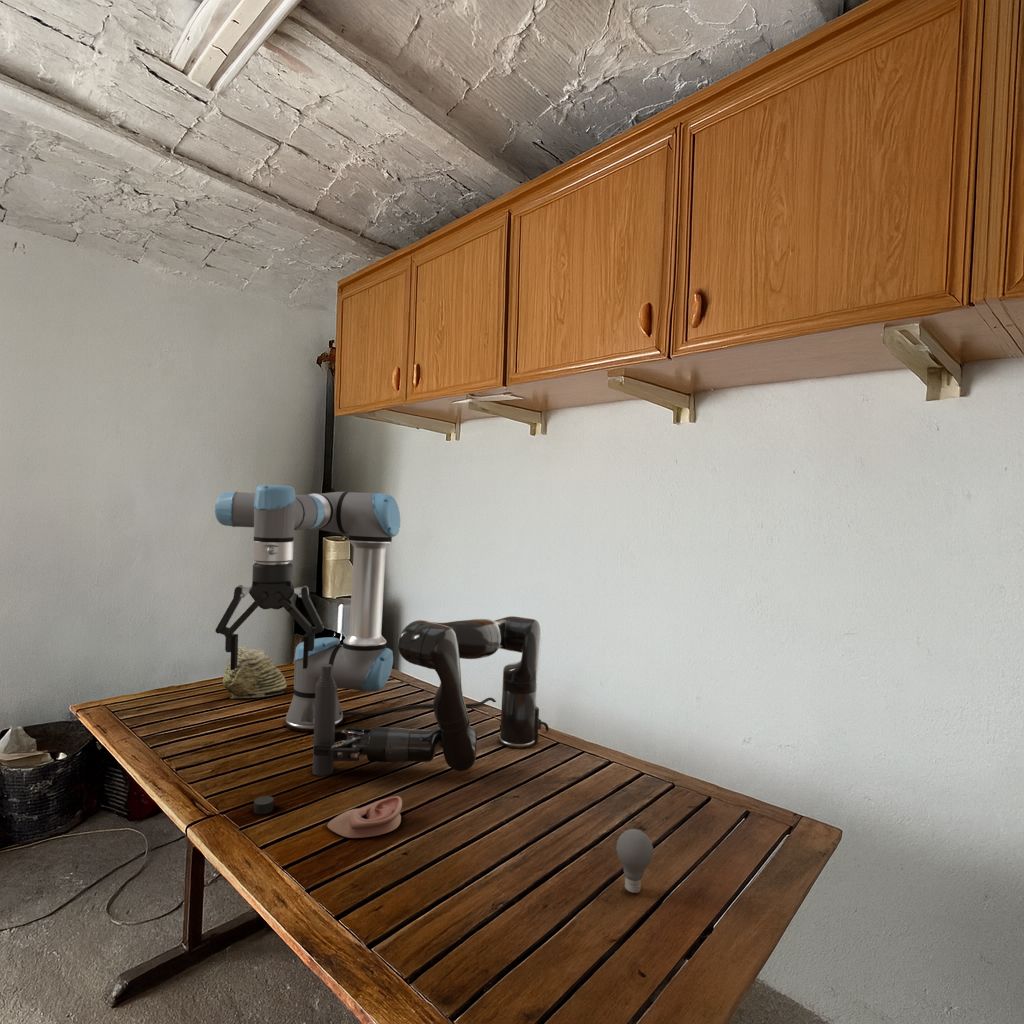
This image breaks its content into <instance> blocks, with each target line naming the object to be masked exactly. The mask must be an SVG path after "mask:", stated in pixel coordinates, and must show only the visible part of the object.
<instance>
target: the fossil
mask: <svg viewBox="0 0 1024 1024" xmlns="http://www.w3.org/2000/svg"><path fill="white" fill-rule="evenodd" d="M230 665H231V656H230V657H229V659H228V660H227V663H226V666H225V668H224V671H223V675H222V676H223V677H222V685H223V687H224V688H225V690H226V691H228V693H229V698H230V699H250V698H264V697H271V696H275V695H281V694H284V693H285V691H286V689H287V687H288V686H287V680H286V678H285V676H284V674H283V673H282V672H281V669H279V668H278V667H277V665H276V663H275V662H274V660H273V659H272V658H271V657H270V656H269V655H268V654H267V653H266V652H265V650H264V649H263V648H260V647H258V648H251V647H247V646H246V647H245V646H238V659H237V667H236V669H235V670H230Z"/></svg>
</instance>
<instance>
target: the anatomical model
mask: <svg viewBox="0 0 1024 1024" xmlns="http://www.w3.org/2000/svg"><path fill="white" fill-rule="evenodd" d="M402 808H403V799H402V797H401V796H399V795H395V796H389V797H385V798H383V799H379V800H376V801H374V802H372V803H369V804H367V805H365V806H362V807H359V808H353V809H349V810H346V811H344V812H341V813H340V814H338V815H337V816H335V817H334V818H332V819H331V820H330V821H329V822H328V823H327V828H328V829H329V830H330V831H331V832H333V833H335V834H337V835H339V836H340V837H341V836H342V837H344V838H347V839H360V838H370V837H371V838H372V837H377V836H382V835H384V834H387V833H390V832H392V831H394V830H396V829H397V828H398V827H399V826H400V824H401V822H402V815H401V811H402Z"/></svg>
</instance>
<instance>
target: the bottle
mask: <svg viewBox="0 0 1024 1024" xmlns="http://www.w3.org/2000/svg"><path fill="white" fill-rule="evenodd" d="M332 669H333V665H331V664H324V665H321V677H320V679H319V681H318V682H317V684H316V692H315V718H314V732H313V747H312V774H313V775H315V776H318V777H324V776H330V775H331V774H332V773H333V772H334V762H335V761H332V757H331V756H322V755H314V746H315V745H316V744H321V745H335V741H334V740H335V731H336V727H335V714H336V688H337V686H336V683H335V681H334V678H333V676H332ZM337 689H338V688H337Z"/></svg>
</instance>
